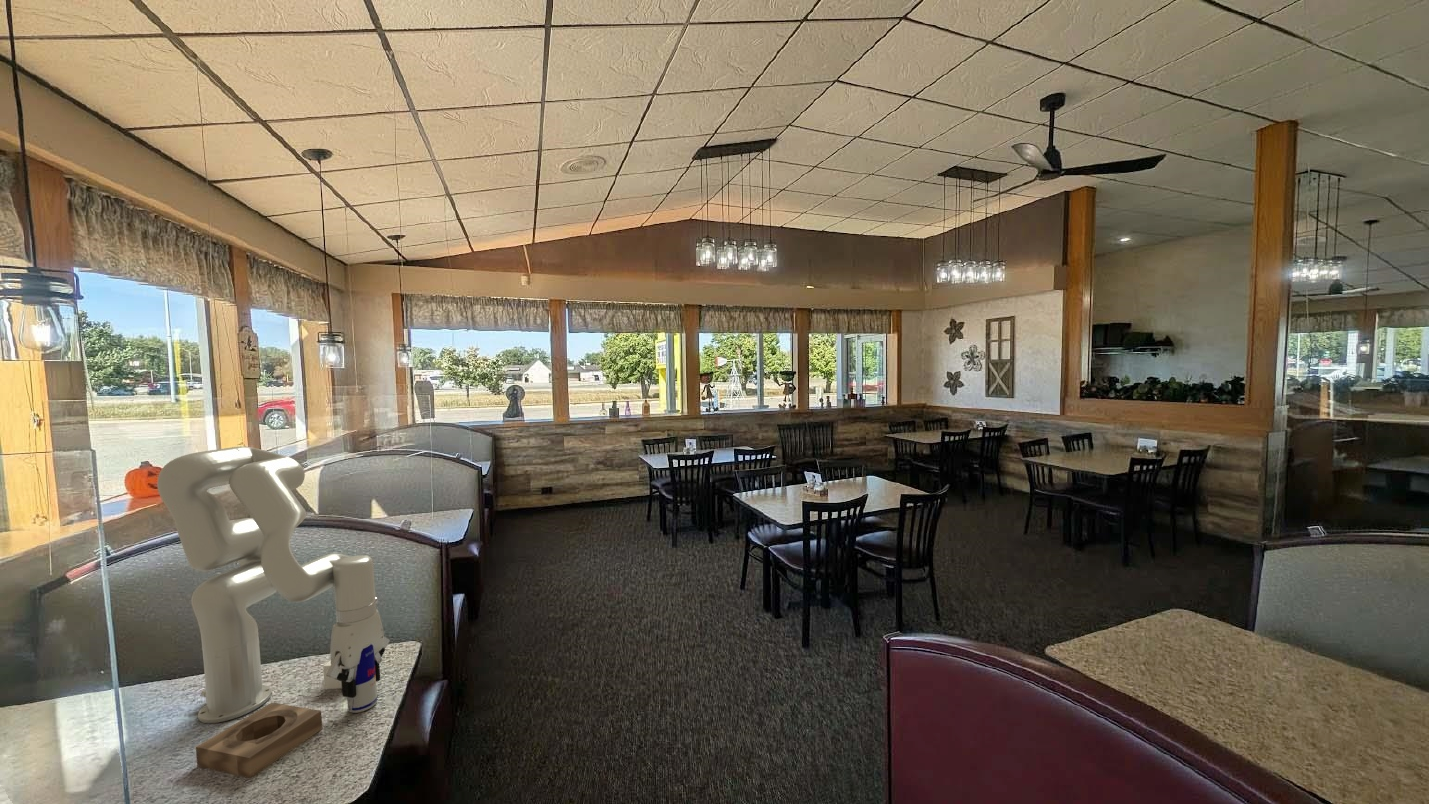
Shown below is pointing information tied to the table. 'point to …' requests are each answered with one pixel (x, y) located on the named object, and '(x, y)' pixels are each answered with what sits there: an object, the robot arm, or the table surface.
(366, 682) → the beverage can
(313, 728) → the holder
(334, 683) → the white cube
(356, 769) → the table surface
